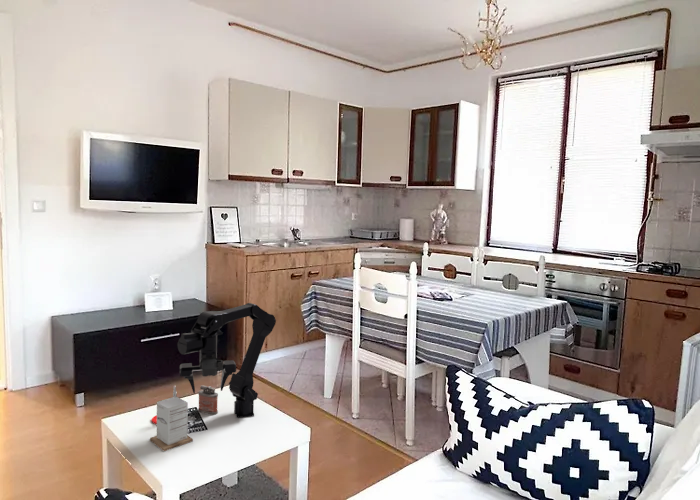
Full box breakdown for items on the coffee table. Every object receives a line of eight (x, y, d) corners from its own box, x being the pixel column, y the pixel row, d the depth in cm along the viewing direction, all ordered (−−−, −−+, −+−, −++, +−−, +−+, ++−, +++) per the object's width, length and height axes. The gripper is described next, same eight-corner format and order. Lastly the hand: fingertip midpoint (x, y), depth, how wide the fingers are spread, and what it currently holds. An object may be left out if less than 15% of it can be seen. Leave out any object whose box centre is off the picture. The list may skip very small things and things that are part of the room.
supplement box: (155, 438, 165) (155, 401, 163) (176, 431, 170) (176, 395, 169) (167, 446, 160) (167, 408, 159) (188, 438, 165) (188, 401, 164)
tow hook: (147, 425, 176) (173, 425, 176) (146, 390, 175) (171, 390, 175) (158, 415, 185) (182, 415, 184) (156, 381, 183) (181, 382, 183)
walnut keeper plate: (178, 430, 172) (178, 428, 172) (192, 441, 165) (192, 438, 165) (149, 440, 165) (149, 437, 165) (164, 451, 158) (164, 449, 158)
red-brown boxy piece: (219, 412, 188) (220, 386, 187) (214, 415, 185) (214, 389, 184) (201, 408, 191) (201, 383, 190) (196, 411, 188) (196, 386, 187)
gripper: (180, 357, 162) (180, 403, 164) (238, 353, 168) (237, 398, 170) (179, 347, 173) (179, 391, 174) (234, 344, 179) (233, 386, 180)
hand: (207, 391), depth 174 cm, fingers open, 9 cm apart
